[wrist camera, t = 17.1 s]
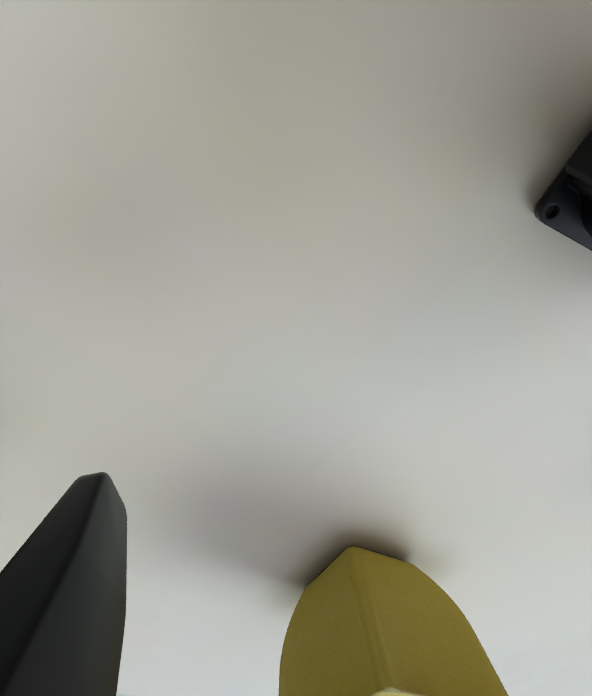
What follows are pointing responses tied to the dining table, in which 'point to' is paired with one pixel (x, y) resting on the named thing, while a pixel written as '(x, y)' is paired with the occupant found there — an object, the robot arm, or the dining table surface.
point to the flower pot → (381, 635)
